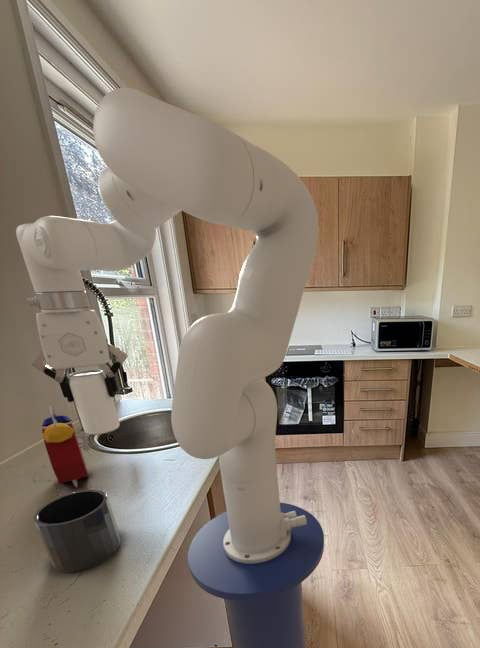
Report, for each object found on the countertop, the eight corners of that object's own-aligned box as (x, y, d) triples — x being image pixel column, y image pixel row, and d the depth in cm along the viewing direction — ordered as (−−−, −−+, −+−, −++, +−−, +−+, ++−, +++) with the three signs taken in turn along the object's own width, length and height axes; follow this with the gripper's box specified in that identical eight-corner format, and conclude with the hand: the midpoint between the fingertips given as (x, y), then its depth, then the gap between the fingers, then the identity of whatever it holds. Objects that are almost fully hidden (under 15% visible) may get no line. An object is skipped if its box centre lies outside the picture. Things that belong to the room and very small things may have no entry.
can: (108, 422, 77) (92, 368, 72) (127, 426, 74) (112, 370, 69) (78, 432, 71) (58, 375, 67) (97, 437, 69) (78, 377, 64)
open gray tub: (124, 526, 71) (111, 484, 68) (116, 562, 62) (101, 516, 58) (62, 540, 68) (45, 497, 64) (44, 580, 59) (23, 532, 55)
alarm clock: (59, 471, 94) (33, 401, 86) (96, 462, 99) (75, 394, 91) (61, 495, 83) (32, 417, 75) (103, 483, 88) (79, 408, 80)
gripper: (-4, 306, 57) (35, 409, 64) (114, 301, 62) (138, 397, 69) (15, 305, 64) (49, 398, 71) (121, 300, 69) (142, 388, 76)
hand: (93, 397), depth 70 cm, fingers closed on can, 6 cm apart
